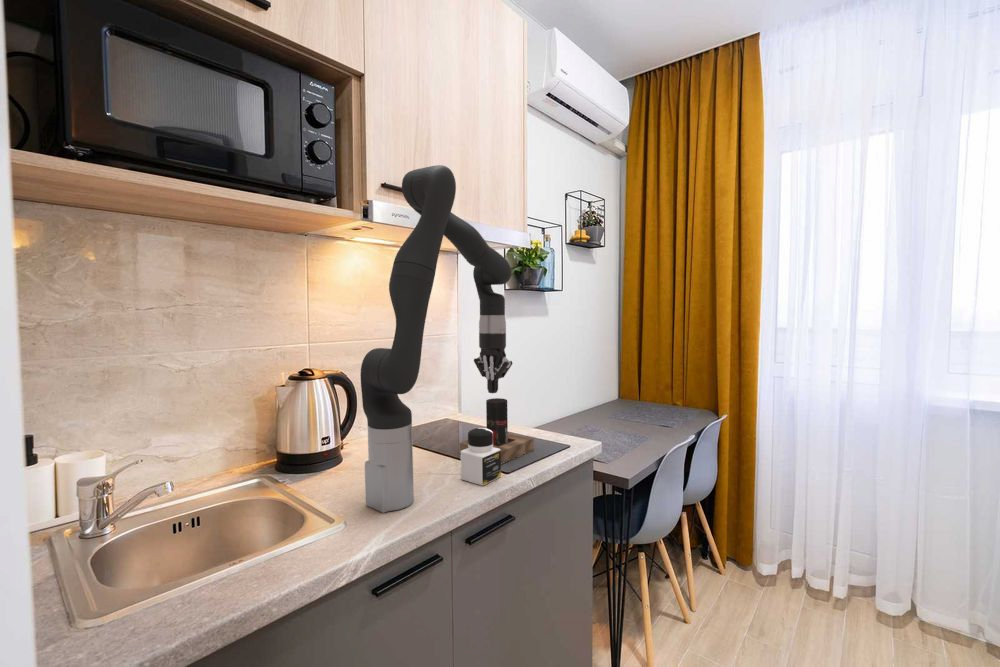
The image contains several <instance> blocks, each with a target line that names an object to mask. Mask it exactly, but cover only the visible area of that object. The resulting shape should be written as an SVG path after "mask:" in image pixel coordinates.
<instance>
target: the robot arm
mask: <svg viewBox="0 0 1000 667" xmlns="http://www.w3.org/2000/svg"><path fill="white" fill-rule="evenodd" d="M456 191H457V182H456V178H455V175H454V173H453V171H452V170H451V169H450V168H449V167H448V166H446V165H443V164H442V165H440V164H438V165H431V166H426V167H421V168H417V169H416V168H415V169H413V170H410V171H408V172H407V173H405V175H404V176H403V178H402V182H401V192H402V195H403V198H404V200H405V201H406V203H407V204H408V205H409V206H410V207H411V208H412V209H413V210H414V211H415V212H416V213H417V214H419V215H420V217H419V220H418V222H417V224H416V225H415V227H414V228H413V230H412V231H411V233H410V234H409V235H408V237H407V238H406V240H405V241H403V244H401V246H400V248H399V249H398V251H397V253H396V255H395V256H394V257H395V258H394V260H393V262H392V264H393V265H392V267H391V273H390V277H389V284H388V291H389V297H390V300H391V304H392V308H393V312H394V316H395V330H394V337H393V341H392V344H391V348H386V347H384V348H383V347H377V348H376V347H375V348H373V349H371V350H369V351H368V352H367V353H366V354H365V355H364V357H363V359H362V363H361V366H360V387H361V389H360V390H361V399H362V400H361V401H362V409H363V413H364V414H365V417H366V421H367V446H368V447H367V449H368V460H365V462H364V483H365V485H364V488H365V489H364V490H365V505H366V506H367V507H369V508H371V509H373V510H376V511H377V512H381V513H382V514H383V513H386V512H391V511H398V510H402V509H404V508H407V507H409V506H411V505H412V504H413V503H414V501H415V498H414V496H415V490H414V456H413V455H414V454H413V453H414V452H413V414H412V413H413V412H412V410H411V408H410V407H409V406H407V405H406V404H405V403H404V402H402V400H401V398H400V397H399V395H405V394H407V393H409V392H410V391H411V390H412V389H413V388H414V387H415V384H416V383H417V380H418V377H419V373H420V367H421V358H422V351H423V350H422V349H423V339H424V331H425V324H426V319H427V314H428V309H429V304H430V299H431V294H432V290H433V286H434V282H435V276H436V272H437V271H436V270H437V264H438V260H439V259H438V258H439V254H440V251H441V247H442V243H443V238H444V237H445V238H446V239H447V240H448V241H449V242H450V243H451V244H452V245H453V246H454V248H456V249H457V251H458V252H459V253H460V255H461V256H462V257H463V258H464V259H465V261H466V262H467V263H468V264H469V265H471V266H473V271H472V272H473V274H472V275H473V281H474V283H475V287H476V290H477V291H476V292H477V296H478V300H479V321H478V346H479V348H480V352H479V356H478V357H477V358H474V359H473V362H474V364H475V366H476V368H477V369H478V372H479V374H480V376H481V377H482V378H483V377H484V378H485V379H486V386H487V387H486V388H487V391H488V393H489V394H496V393H498V390H499V379H503V378H505V376H506V375H507V373H508V372H509V370H510V369H511V367H512V366H513V361H512V360H509V359H508V358H507V353H506V351H505V350H506V347H507V322H506V298H505V296H504V295H503V294H501V293H497V292H494V290H493V287H492V285H493V286H495V285H496V286H498V285H504V284H507V283H508V282H509V281H510V280H511V277H512V267H511V265H510V263H509V261H508V260H507V259H506V258H505V257H504V256H503V255H502V254H500V253H499V252H498V251H497V250H495V249H494V248H492V247H491V246H490V245H489V244H488V243H487V242H486V240H485V238H484V237H483V236H482V235H481V233H480V231H478V230H477V229H476V228H475V227H474V226H472V225H471V224H470V223H469V222H467V221H465V219H463V218H461V217H459V216H457V215H456V214H454V213H453V212H452V209H453V206H454V202H455V198H456V194H457V193H456Z"/></svg>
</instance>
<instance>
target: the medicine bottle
mask: <svg viewBox="0 0 1000 667" xmlns="http://www.w3.org/2000/svg"><path fill="white" fill-rule="evenodd" d="M467 440H468V447H469V448H467V449H464V450H462V451H461V455H460V479H461V480H463V481H466V482H469V483H473V484H475V485H479V486H485V485H488V484H489V483H491V482H494V481H495V480H497V479H499V478H501V477H502V465H501V450H500V449H499V448H495V447H493V432H492V431H491V430H489V429H487V427H485V428H484V427H476V428H473V429H471V430H468V432H467Z"/></svg>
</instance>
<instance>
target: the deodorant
mask: <svg viewBox="0 0 1000 667" xmlns="http://www.w3.org/2000/svg"><path fill="white" fill-rule="evenodd" d="M485 404H486V406H485V407H486V412H485V413H486V414H485V415H486V418H485V420H486V429H489V430H491V431H492V432H493V445H495V446H502V445H504V444H507V443H508V433H509V432H508V429H509V428H508V423H509V422H508V399H506V398H501V397H500V398H499V397H498V398H497V397H496V398H495V397H494V398H489V399H486V400H485Z"/></svg>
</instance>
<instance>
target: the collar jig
mask: <svg viewBox="0 0 1000 667" xmlns="http://www.w3.org/2000/svg"><path fill="white" fill-rule="evenodd" d="M493 447H495V448H499V449H500V450H501V463H503V462H506V461H509V460H511V459H513V458H515V459H517V458H516V457H518V456H520V457H522V456H524V455H523V454H525V455H527V454H529V453H531V452H534V451H535V439H534V437H529V436H524V435H522V434H521V435H520V434H516V433H513V432H512V433H511V432H508V443H507V444H504V445H502V446H495V445H493ZM467 448H469V447H468V439H466V440H464V441H460V442H459V454H460V453H461V451H462V450H464V449H467ZM533 450H534V451H533ZM528 452H529V453H528ZM526 453H527V454H526ZM521 455H522V456H521ZM518 458H519V457H518ZM513 460H514V459H513ZM511 461H512V460H511ZM509 462H510V461H509ZM506 463H507V462H506Z"/></svg>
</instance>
